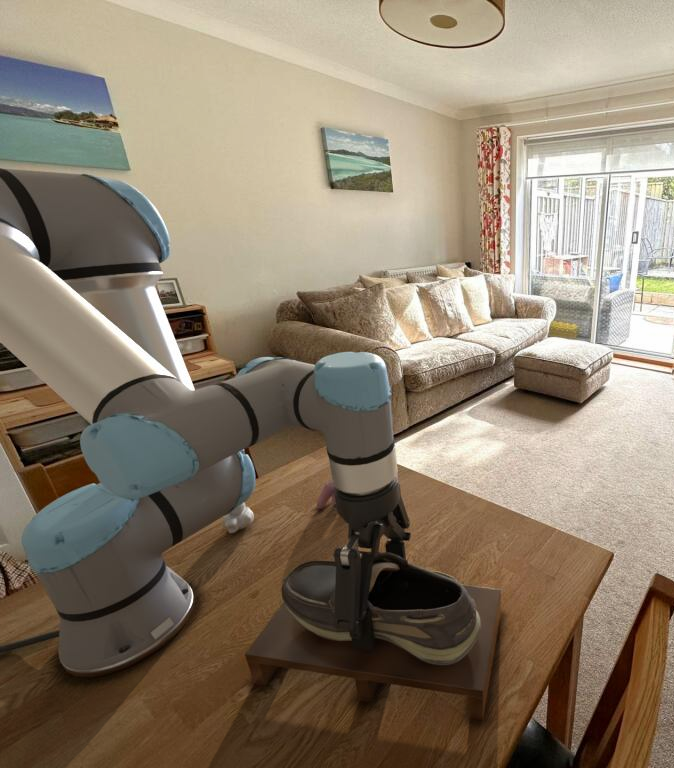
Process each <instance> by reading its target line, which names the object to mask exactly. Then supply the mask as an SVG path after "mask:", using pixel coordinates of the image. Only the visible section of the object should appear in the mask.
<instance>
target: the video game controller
mask: <svg viewBox="0 0 674 768" xmlns="http://www.w3.org/2000/svg"><path fill="white" fill-rule="evenodd" d="M330 498H331V499H332V502H333V503H334V504H336V502H335V496H334V484H333V482H332V479H330V480H328V481H327V482H326V483H325V484H324V485H323V488H322V490H321V492H320V494H319V496H318V498H317V500H316V507H317V509H320V510H321V509H322V508H324V507H325V506H326V504H327V503H328V502H329V500H330Z"/></svg>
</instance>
